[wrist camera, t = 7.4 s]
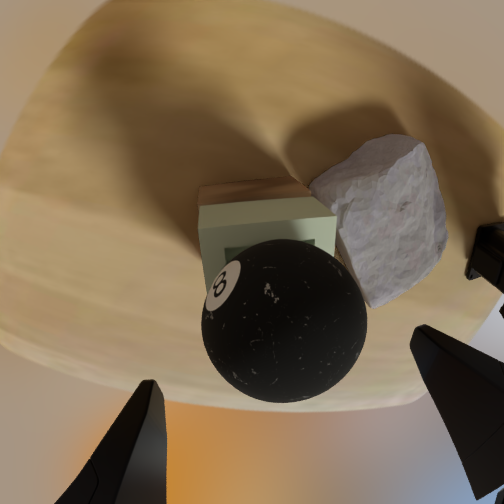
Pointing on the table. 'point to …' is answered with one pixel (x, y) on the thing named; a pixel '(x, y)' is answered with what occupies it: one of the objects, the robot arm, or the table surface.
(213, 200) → the tower base
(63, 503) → the robot arm
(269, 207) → the tower cap
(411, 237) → the stone block
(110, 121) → the table surface
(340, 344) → the billiard ball
